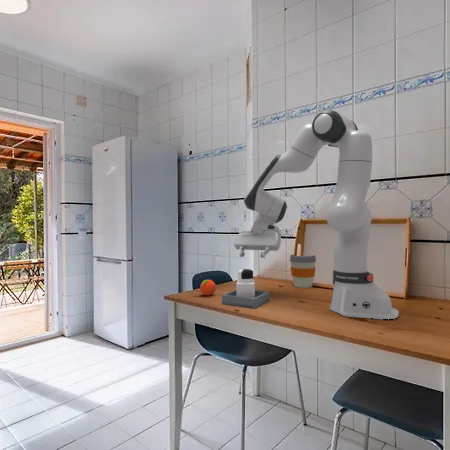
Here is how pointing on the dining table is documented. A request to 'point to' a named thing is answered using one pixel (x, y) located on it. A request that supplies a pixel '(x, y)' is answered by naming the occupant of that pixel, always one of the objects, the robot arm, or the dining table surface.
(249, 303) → the tray
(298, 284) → the reusable coffee cup
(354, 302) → the robot arm
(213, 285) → the clementine
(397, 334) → the dining table surface
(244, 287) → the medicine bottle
